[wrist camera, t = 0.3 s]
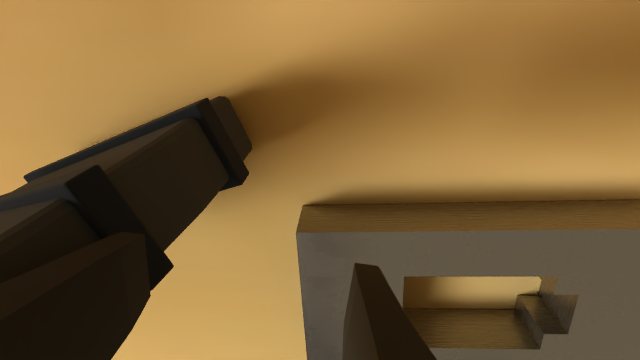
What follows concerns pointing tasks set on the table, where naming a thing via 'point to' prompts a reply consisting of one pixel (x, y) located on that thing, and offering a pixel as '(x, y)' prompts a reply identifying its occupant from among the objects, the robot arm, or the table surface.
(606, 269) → the chassis
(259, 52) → the table surface
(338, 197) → the table surface
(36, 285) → the robot arm
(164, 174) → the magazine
